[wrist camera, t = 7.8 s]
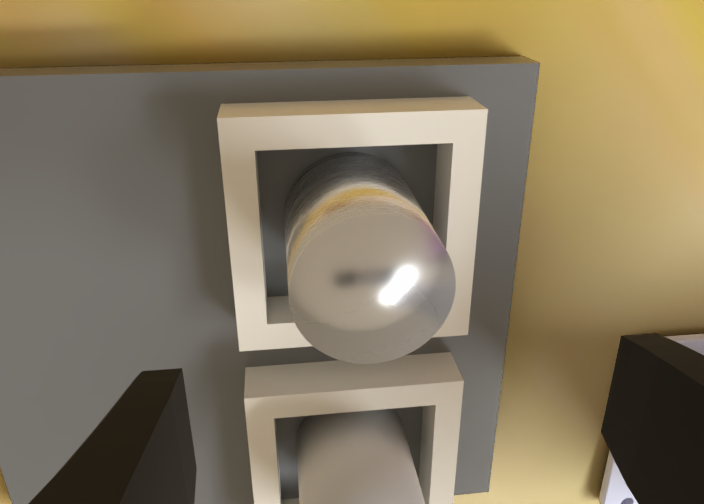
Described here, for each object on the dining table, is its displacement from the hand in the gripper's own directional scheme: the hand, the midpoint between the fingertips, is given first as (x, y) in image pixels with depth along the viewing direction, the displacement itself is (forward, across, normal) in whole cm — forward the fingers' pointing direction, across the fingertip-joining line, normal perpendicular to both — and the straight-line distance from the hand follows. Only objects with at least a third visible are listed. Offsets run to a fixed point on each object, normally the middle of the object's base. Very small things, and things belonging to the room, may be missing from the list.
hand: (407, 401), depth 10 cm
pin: (+8, 0, 0) cm, 8 cm away
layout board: (+9, +3, +4) cm, 10 cm away
